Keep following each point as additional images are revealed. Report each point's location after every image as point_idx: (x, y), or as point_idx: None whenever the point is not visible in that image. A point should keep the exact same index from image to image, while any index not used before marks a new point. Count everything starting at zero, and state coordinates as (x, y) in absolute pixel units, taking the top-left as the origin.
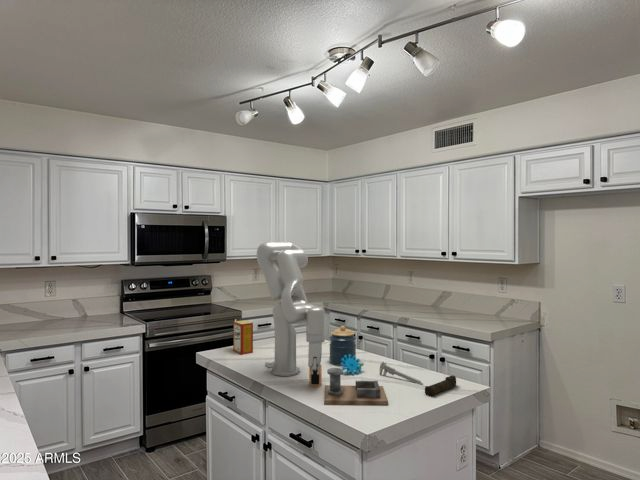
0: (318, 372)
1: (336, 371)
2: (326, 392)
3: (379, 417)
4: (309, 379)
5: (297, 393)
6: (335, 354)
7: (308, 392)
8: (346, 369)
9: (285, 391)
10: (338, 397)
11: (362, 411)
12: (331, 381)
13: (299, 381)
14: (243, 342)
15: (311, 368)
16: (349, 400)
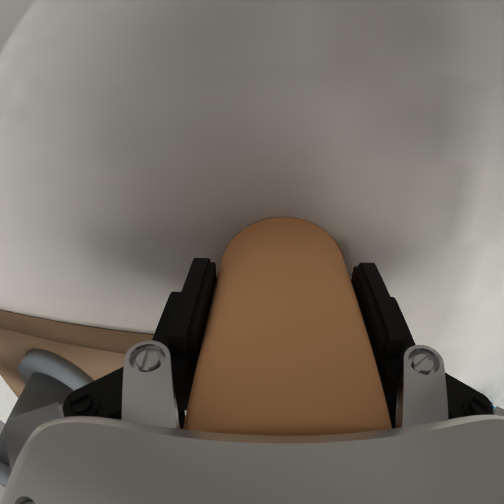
0: (179, 418)
1: (2, 484)
2: (41, 345)
3: (3, 410)
4: (267, 251)
5: (33, 127)
6: None
7: (71, 218)
8: (494, 407)
9: (67, 4)
10: (19, 376)
11: (6, 395)
12: (7, 420)
13: (402, 108)
14: None
15: (197, 408)
16: (18, 397)
